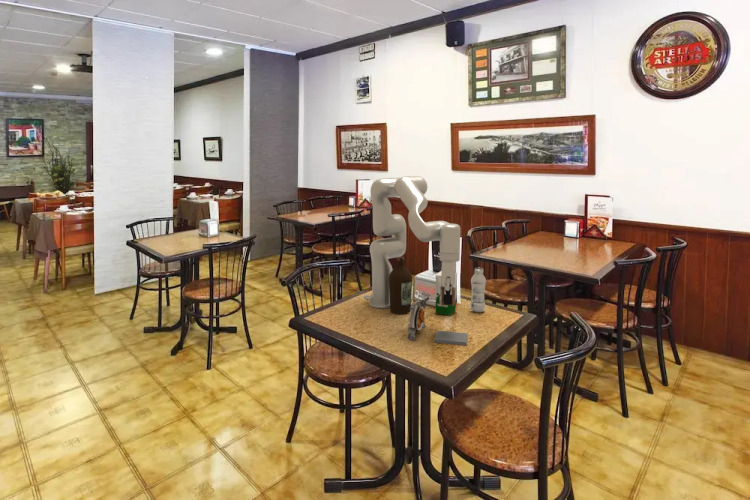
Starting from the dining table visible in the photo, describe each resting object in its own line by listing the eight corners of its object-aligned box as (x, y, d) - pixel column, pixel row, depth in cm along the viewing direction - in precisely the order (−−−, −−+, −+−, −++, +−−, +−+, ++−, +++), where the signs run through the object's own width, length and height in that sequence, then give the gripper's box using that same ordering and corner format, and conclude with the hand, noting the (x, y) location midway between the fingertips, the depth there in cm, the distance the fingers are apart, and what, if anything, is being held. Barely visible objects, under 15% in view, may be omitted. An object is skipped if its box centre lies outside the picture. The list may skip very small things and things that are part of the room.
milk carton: (457, 310, 203) (459, 268, 199) (451, 316, 195) (452, 272, 191) (439, 307, 207) (440, 265, 203) (432, 313, 199) (433, 270, 195)
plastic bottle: (486, 314, 198) (488, 270, 194) (471, 314, 198) (472, 270, 194) (483, 309, 204) (485, 266, 200) (468, 309, 204) (470, 266, 200)
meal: (418, 341, 169) (418, 308, 167) (407, 339, 171) (407, 307, 168) (429, 327, 183) (429, 297, 180) (419, 326, 185) (419, 296, 182)
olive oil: (383, 311, 203) (383, 257, 198) (399, 305, 210) (400, 253, 205) (401, 316, 195) (401, 261, 190) (416, 311, 203) (417, 257, 197)
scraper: (439, 306, 170) (439, 288, 168) (441, 299, 177) (441, 282, 176) (454, 307, 168) (454, 289, 167) (455, 300, 176) (456, 283, 175)
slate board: (434, 342, 168) (434, 339, 168) (436, 333, 177) (436, 330, 177) (466, 345, 165) (466, 342, 165) (467, 336, 174) (467, 333, 174)
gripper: (441, 251, 178) (440, 295, 181) (437, 260, 162) (436, 308, 165) (460, 252, 176) (459, 296, 180) (458, 261, 160) (457, 310, 164)
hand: (448, 302), depth 173 cm, fingers closed on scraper, 4 cm apart
